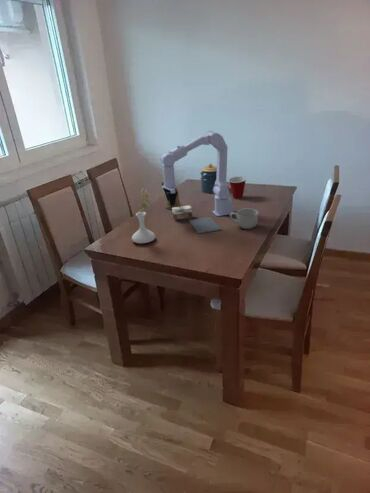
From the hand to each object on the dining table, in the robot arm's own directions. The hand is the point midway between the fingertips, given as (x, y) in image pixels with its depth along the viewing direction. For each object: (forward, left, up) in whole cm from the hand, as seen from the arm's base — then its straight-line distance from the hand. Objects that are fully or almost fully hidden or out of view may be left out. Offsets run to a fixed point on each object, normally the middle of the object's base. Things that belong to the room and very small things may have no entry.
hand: (171, 202), depth 192 cm
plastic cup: (-46, -21, -10) cm, 52 cm away
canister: (-36, -42, -10) cm, 56 cm away
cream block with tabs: (-6, -1, -10) cm, 12 cm away
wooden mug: (-4, -19, -10) cm, 22 cm away
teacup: (-32, +22, -10) cm, 40 cm away
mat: (-14, +13, -10) cm, 22 cm away
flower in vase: (+18, +19, -10) cm, 28 cm away
